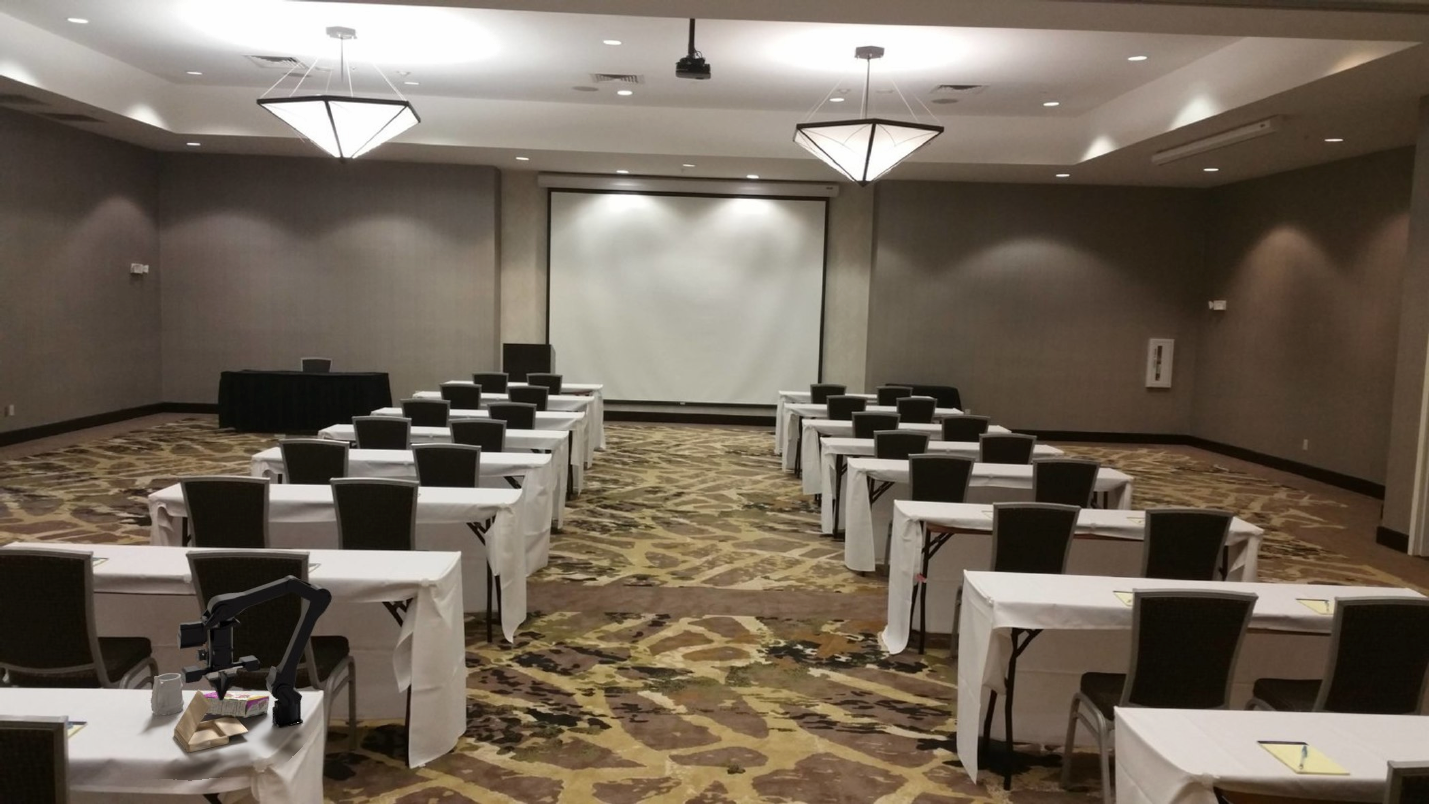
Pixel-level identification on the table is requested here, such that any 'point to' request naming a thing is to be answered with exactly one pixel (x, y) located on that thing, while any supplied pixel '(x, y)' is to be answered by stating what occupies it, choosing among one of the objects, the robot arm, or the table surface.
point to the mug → (167, 694)
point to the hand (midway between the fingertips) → (220, 700)
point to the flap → (193, 715)
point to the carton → (212, 733)
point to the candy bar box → (237, 704)
